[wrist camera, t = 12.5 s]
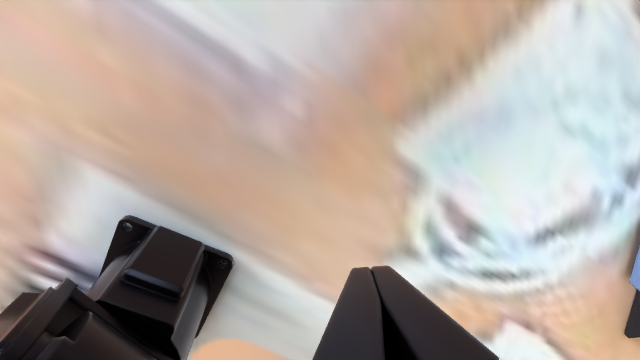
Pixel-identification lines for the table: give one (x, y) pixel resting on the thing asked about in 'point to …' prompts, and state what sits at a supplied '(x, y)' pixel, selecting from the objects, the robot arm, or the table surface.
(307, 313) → the table surface
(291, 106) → the table surface
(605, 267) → the table surface
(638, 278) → the blue block
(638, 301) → the rubber mat
